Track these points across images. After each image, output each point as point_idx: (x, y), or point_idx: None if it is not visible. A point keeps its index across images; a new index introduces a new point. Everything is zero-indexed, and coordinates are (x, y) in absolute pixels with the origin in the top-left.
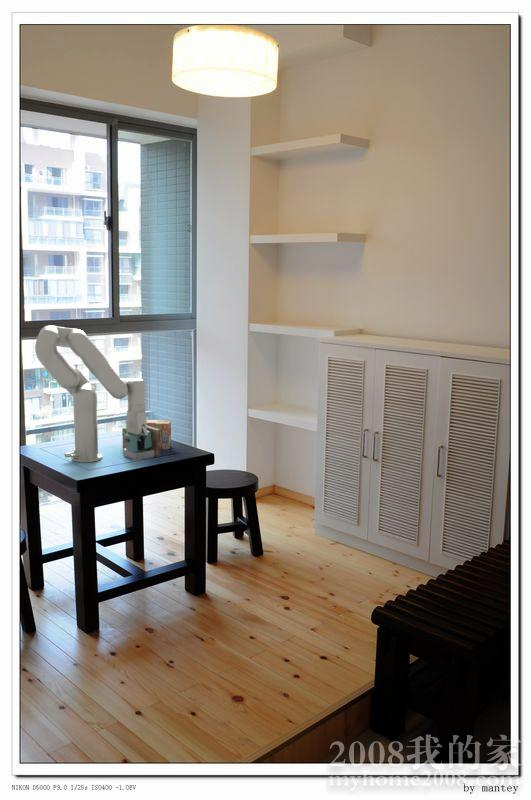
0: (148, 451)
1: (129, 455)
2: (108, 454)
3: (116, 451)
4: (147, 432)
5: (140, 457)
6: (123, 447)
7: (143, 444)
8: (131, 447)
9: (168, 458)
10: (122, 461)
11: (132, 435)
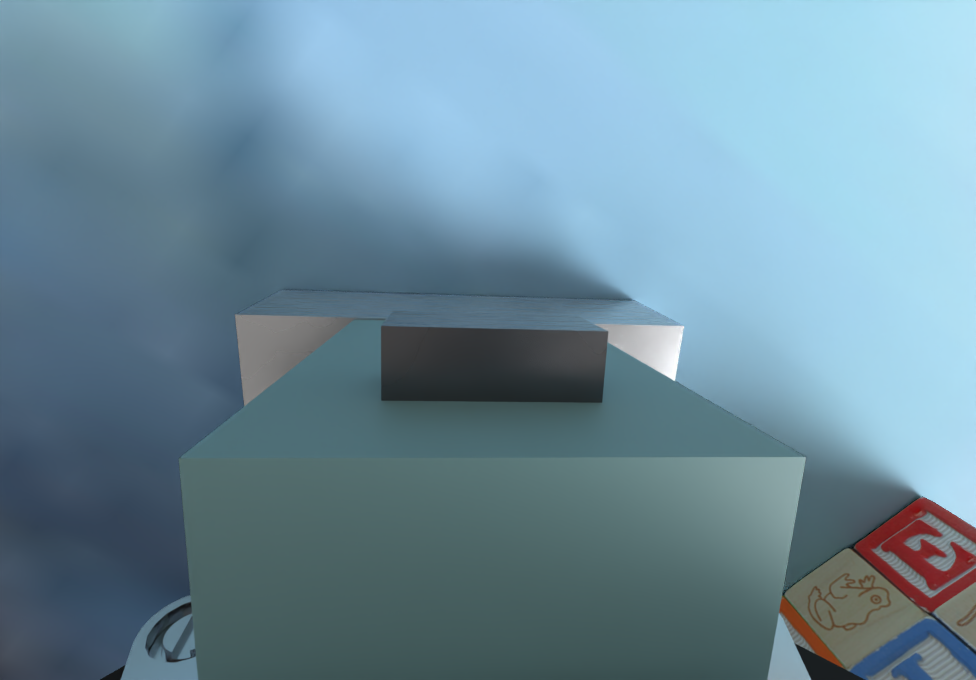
0: None
1: (462, 302)
2: (848, 165)
3: (869, 347)
4: None
5: None
6: (917, 503)
7: None
8: (358, 338)
9: (124, 659)
10: (362, 88)
11: (361, 636)
